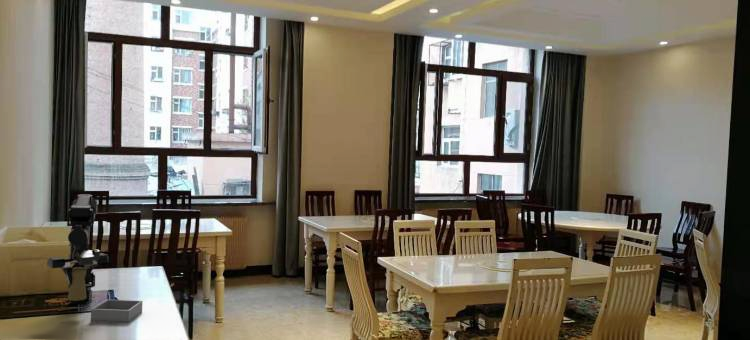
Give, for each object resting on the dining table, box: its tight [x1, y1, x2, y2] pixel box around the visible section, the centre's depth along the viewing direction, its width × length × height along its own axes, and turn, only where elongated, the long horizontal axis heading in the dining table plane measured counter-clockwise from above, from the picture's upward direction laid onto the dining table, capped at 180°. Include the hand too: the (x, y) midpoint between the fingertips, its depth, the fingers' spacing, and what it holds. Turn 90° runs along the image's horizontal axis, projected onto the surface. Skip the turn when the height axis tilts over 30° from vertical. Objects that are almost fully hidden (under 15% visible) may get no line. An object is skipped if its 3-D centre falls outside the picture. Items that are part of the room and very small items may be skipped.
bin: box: [90, 299, 143, 324], centre depth 200 cm, size 13×13×4 cm
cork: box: [67, 267, 87, 301], centre depth 196 cm, size 6×6×11 cm
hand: (77, 284), depth 197 cm, fingers closed on cork, 5 cm apart
